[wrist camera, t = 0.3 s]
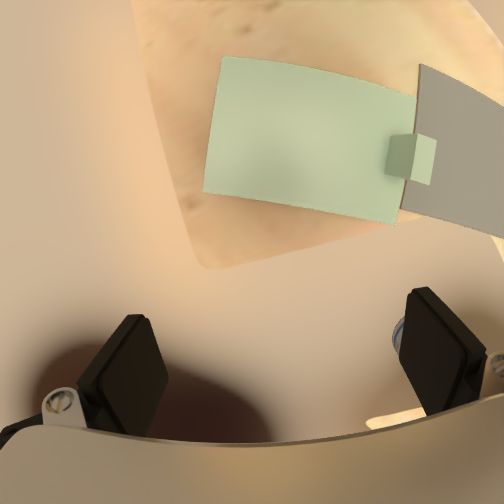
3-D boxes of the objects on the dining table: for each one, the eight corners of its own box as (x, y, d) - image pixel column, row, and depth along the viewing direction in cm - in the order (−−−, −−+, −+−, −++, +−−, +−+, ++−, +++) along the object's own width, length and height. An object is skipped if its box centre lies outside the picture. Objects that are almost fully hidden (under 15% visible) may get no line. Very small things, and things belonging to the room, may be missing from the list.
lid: (225, 61, 26) (211, 33, 18) (408, 100, 26) (446, 89, 18) (206, 189, 30) (185, 201, 23) (388, 221, 30) (420, 242, 23)
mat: (419, 64, 30) (421, 63, 30) (522, 121, 30) (524, 121, 30) (399, 208, 37) (401, 209, 37) (504, 238, 37) (506, 239, 37)
